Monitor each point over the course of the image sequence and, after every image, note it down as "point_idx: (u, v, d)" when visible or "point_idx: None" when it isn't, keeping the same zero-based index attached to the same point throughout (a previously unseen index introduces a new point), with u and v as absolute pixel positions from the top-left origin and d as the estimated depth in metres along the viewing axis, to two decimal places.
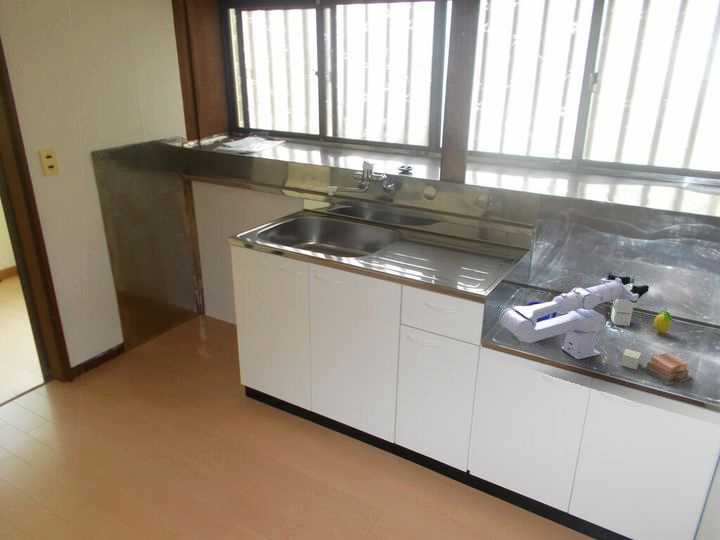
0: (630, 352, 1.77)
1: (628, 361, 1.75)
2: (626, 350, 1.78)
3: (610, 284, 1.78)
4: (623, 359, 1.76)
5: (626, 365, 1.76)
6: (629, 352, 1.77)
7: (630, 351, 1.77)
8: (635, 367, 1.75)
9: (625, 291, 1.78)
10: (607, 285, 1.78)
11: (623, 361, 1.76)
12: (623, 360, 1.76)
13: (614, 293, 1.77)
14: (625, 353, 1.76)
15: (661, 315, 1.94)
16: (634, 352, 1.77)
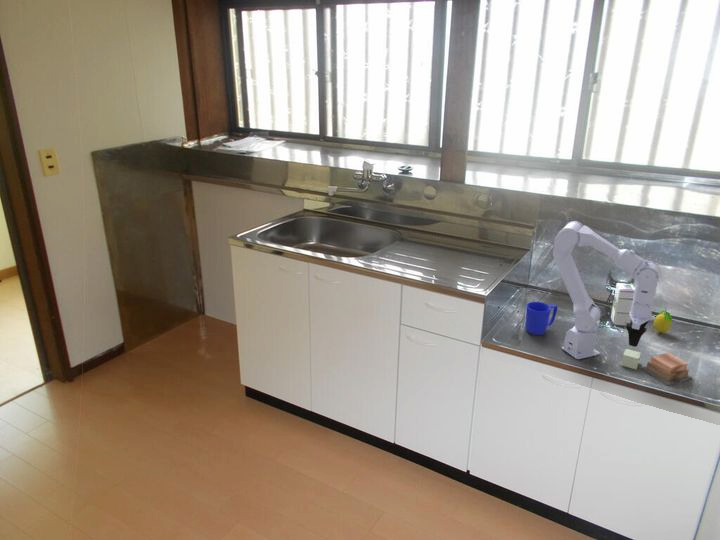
0: (630, 352, 1.77)
1: (628, 361, 1.75)
2: (626, 350, 1.78)
3: (652, 307, 1.68)
4: (623, 359, 1.76)
5: (626, 365, 1.76)
6: (629, 352, 1.77)
7: (630, 351, 1.77)
8: (635, 367, 1.75)
9: (641, 320, 1.68)
10: (652, 304, 1.68)
11: (623, 361, 1.76)
12: (623, 360, 1.76)
13: (643, 308, 1.67)
14: (625, 353, 1.76)
15: (661, 315, 1.94)
16: (634, 352, 1.77)
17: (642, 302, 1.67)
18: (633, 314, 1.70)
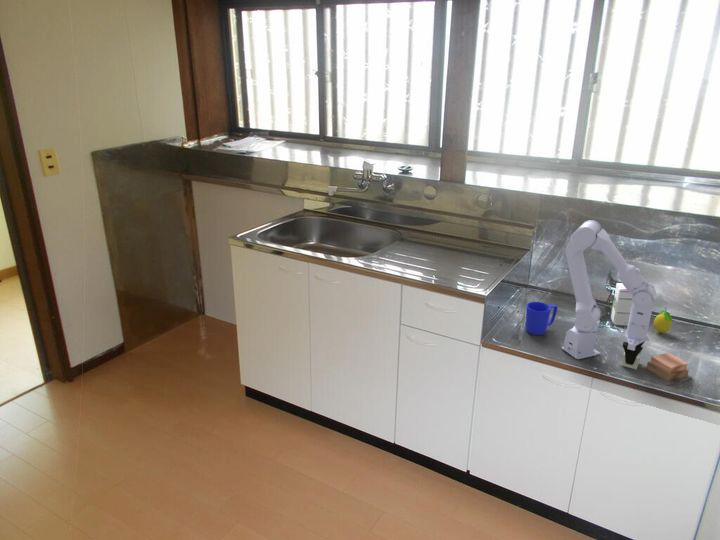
0: None
1: None
2: None
3: (647, 328, 1.71)
4: (623, 359, 1.76)
5: (626, 365, 1.76)
6: None
7: None
8: (635, 367, 1.75)
9: (636, 341, 1.71)
10: (648, 325, 1.70)
11: (623, 361, 1.76)
12: (623, 360, 1.76)
13: (639, 329, 1.70)
14: None
15: (661, 315, 1.94)
16: None
17: (638, 323, 1.69)
18: (629, 335, 1.73)
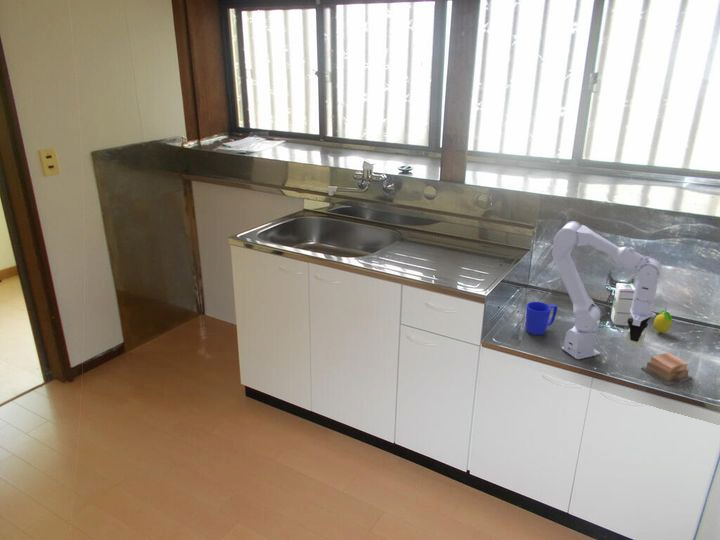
0: None
1: None
2: None
3: (652, 304, 1.68)
4: (628, 335, 1.73)
5: (631, 342, 1.73)
6: None
7: None
8: (640, 343, 1.72)
9: (641, 316, 1.68)
10: (653, 300, 1.67)
11: (628, 338, 1.73)
12: (628, 337, 1.73)
13: (644, 304, 1.67)
14: None
15: (661, 315, 1.94)
16: None
17: (643, 299, 1.66)
18: (634, 311, 1.69)
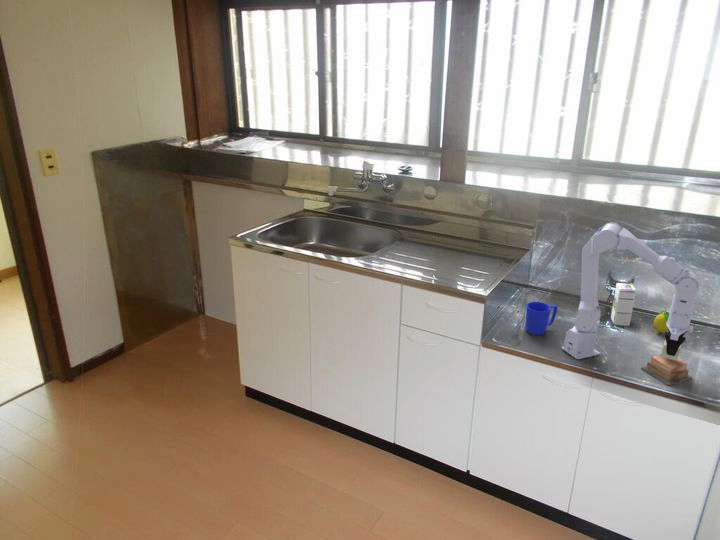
0: None
1: None
2: None
3: (690, 317, 1.63)
4: (663, 349, 1.68)
5: (666, 356, 1.68)
6: None
7: None
8: (676, 358, 1.67)
9: (679, 330, 1.63)
10: (691, 314, 1.62)
11: (663, 352, 1.68)
12: (663, 351, 1.68)
13: (682, 318, 1.62)
14: (665, 343, 1.69)
15: (661, 315, 1.94)
16: None
17: (681, 312, 1.62)
18: (671, 324, 1.65)
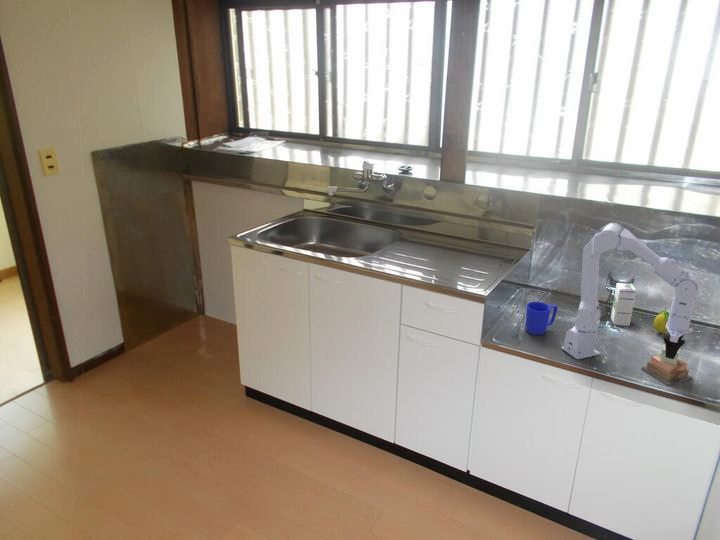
0: None
1: None
2: None
3: None
4: (662, 354, 1.69)
5: (665, 360, 1.69)
6: None
7: None
8: (675, 362, 1.67)
9: (678, 332, 1.63)
10: None
11: (662, 356, 1.69)
12: (662, 355, 1.69)
13: (681, 320, 1.62)
14: (664, 348, 1.69)
15: (661, 315, 1.94)
16: None
17: (680, 314, 1.62)
18: (670, 326, 1.65)
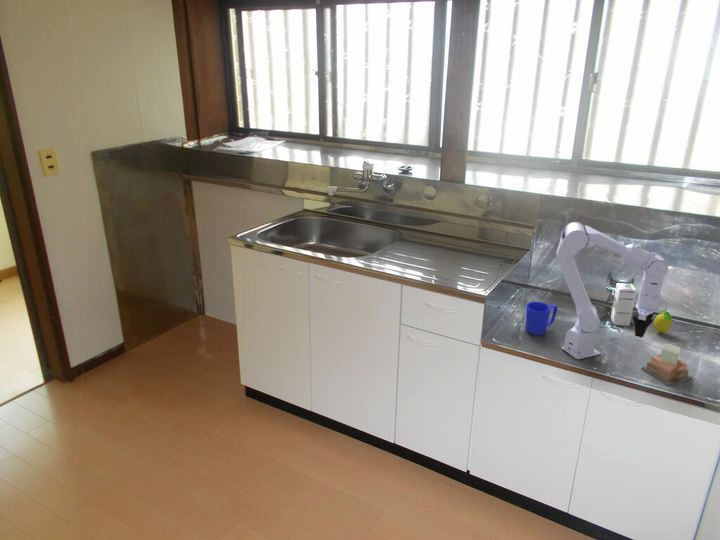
0: (670, 346, 1.70)
1: (667, 356, 1.68)
2: (665, 345, 1.71)
3: (658, 299, 1.71)
4: (662, 354, 1.69)
5: (665, 360, 1.69)
6: (668, 346, 1.70)
7: (669, 346, 1.70)
8: (675, 362, 1.67)
9: (647, 311, 1.71)
10: (659, 295, 1.70)
11: (662, 356, 1.69)
12: (662, 355, 1.69)
13: (650, 299, 1.70)
14: (664, 348, 1.69)
15: (661, 315, 1.94)
16: (673, 347, 1.70)
17: (652, 294, 1.69)
18: (639, 305, 1.73)
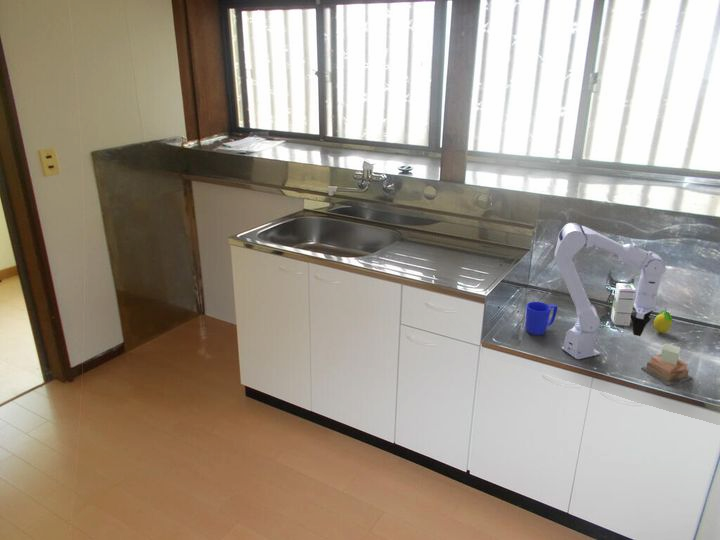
0: (670, 346, 1.70)
1: (667, 356, 1.68)
2: (665, 345, 1.71)
3: None
4: (662, 354, 1.69)
5: (665, 360, 1.69)
6: (668, 346, 1.70)
7: (669, 346, 1.70)
8: (675, 362, 1.67)
9: (645, 310, 1.72)
10: (656, 294, 1.71)
11: (662, 356, 1.69)
12: (662, 355, 1.69)
13: (647, 297, 1.71)
14: (664, 348, 1.69)
15: (661, 315, 1.94)
16: (673, 347, 1.70)
17: (650, 293, 1.70)
18: (637, 304, 1.74)
